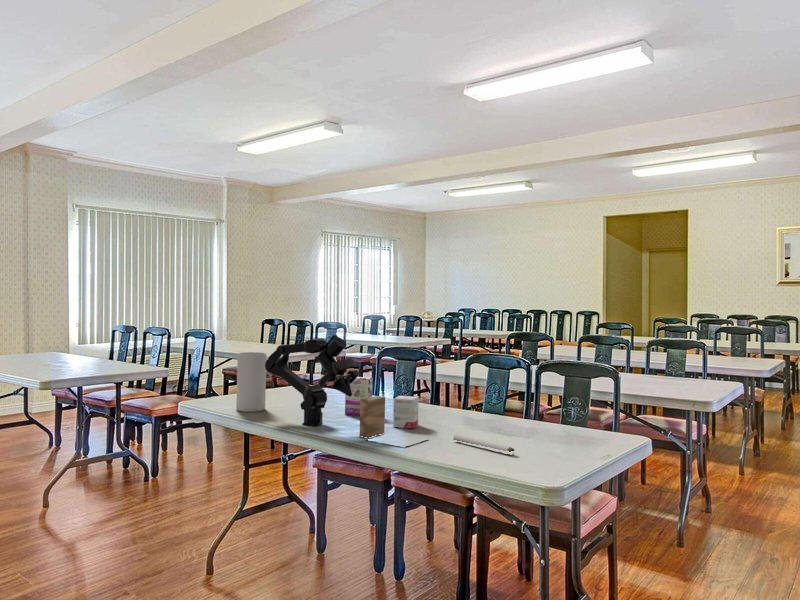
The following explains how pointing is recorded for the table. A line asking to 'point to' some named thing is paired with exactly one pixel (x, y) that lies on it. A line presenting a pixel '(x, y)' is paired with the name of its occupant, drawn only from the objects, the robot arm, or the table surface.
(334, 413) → the table surface
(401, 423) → the ink box
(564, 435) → the table surface
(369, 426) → the brown cardboard box
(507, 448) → the tube
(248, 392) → the cylinder vase
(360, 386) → the candy bar box
